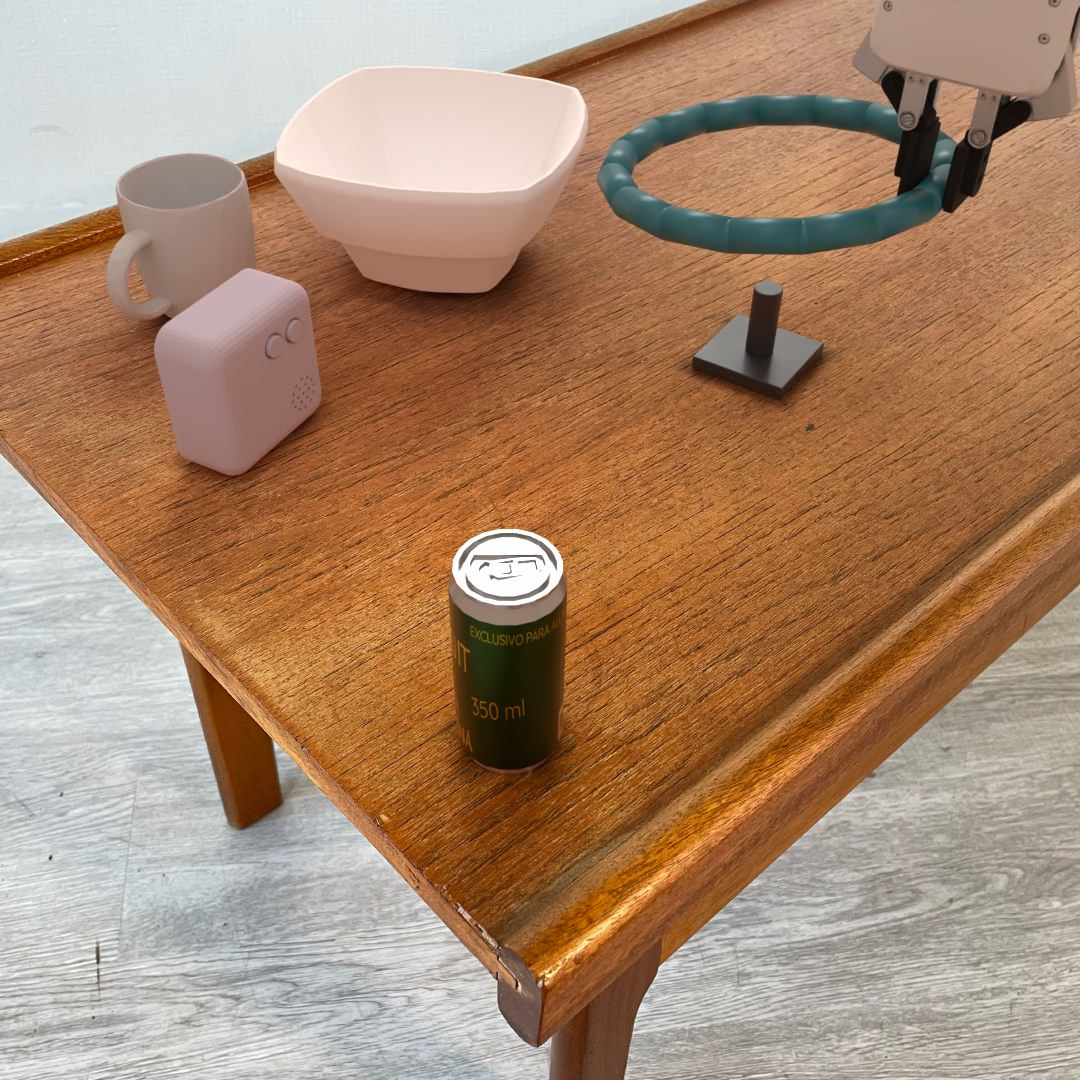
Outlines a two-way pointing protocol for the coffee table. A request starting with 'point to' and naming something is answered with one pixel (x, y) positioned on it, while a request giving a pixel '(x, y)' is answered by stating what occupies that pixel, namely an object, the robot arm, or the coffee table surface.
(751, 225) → the ring
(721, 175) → the coffee table surface
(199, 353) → the electronic device
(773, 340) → the post
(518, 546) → the beer can
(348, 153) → the bowl
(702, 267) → the coffee table surface
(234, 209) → the mug
